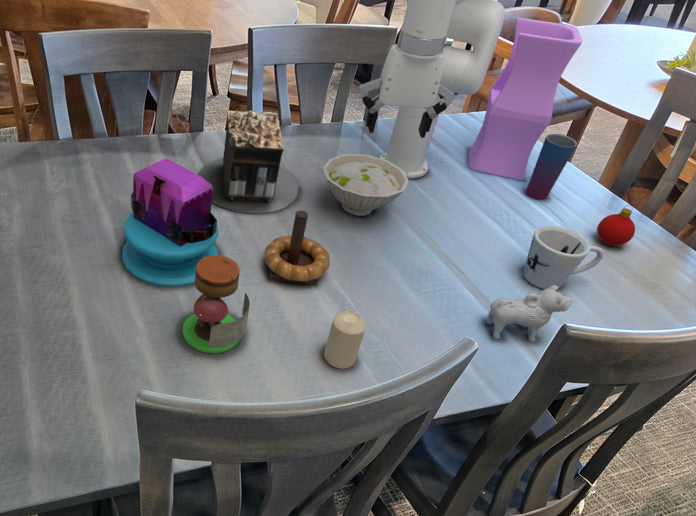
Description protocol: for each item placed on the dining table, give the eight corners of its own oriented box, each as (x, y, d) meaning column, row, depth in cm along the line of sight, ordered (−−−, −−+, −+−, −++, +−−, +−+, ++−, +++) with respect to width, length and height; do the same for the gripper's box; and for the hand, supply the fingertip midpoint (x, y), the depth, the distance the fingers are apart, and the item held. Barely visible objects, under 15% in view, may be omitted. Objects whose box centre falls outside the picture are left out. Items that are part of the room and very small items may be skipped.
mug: (508, 261, 135) (526, 223, 129) (577, 265, 135) (598, 227, 129) (526, 293, 127) (546, 254, 121) (599, 297, 127) (623, 259, 121)
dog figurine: (556, 343, 117) (582, 300, 110) (488, 339, 116) (510, 296, 109) (544, 323, 121) (569, 280, 114) (478, 319, 120) (499, 276, 113)
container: (469, 146, 176) (516, 16, 153) (521, 156, 173) (577, 26, 150) (468, 169, 166) (519, 34, 143) (524, 180, 163) (584, 44, 140)
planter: (319, 195, 152) (334, 123, 140) (237, 225, 140) (245, 149, 128) (255, 151, 167) (263, 82, 155) (176, 174, 156) (178, 103, 144)
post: (269, 253, 133) (278, 198, 124) (312, 257, 133) (324, 203, 124) (269, 280, 126) (278, 224, 118) (314, 284, 126) (326, 229, 117)
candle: (320, 346, 113) (331, 305, 106) (350, 345, 113) (362, 304, 107) (327, 369, 108) (339, 328, 102) (358, 368, 109) (372, 327, 102)
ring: (265, 241, 134) (266, 229, 132) (326, 248, 133) (329, 236, 131) (262, 279, 124) (264, 267, 122) (329, 287, 123) (332, 275, 121)
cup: (553, 203, 155) (580, 148, 145) (524, 199, 155) (549, 144, 146) (547, 189, 160) (573, 135, 150) (519, 185, 160) (543, 131, 151)
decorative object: (170, 300, 120) (173, 214, 107) (101, 254, 130) (97, 170, 117) (237, 256, 132) (247, 174, 119) (169, 217, 141) (172, 137, 129)
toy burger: (166, 346, 111) (168, 281, 101) (195, 303, 120) (199, 240, 110) (228, 369, 107) (237, 303, 98) (253, 323, 116) (263, 259, 107)
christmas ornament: (588, 243, 142) (609, 206, 136) (594, 229, 147) (615, 193, 140) (622, 256, 139) (645, 218, 133) (628, 241, 143) (650, 204, 137)
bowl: (300, 205, 148) (307, 168, 141) (344, 177, 159) (352, 141, 153) (371, 241, 138) (382, 202, 132) (413, 208, 150) (425, 171, 143)
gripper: (466, 38, 112) (438, 127, 123) (368, 31, 113) (348, 119, 124) (475, 55, 106) (445, 145, 117) (372, 46, 107) (351, 137, 118)
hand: (395, 132), depth 120 cm, fingers open, 9 cm apart
